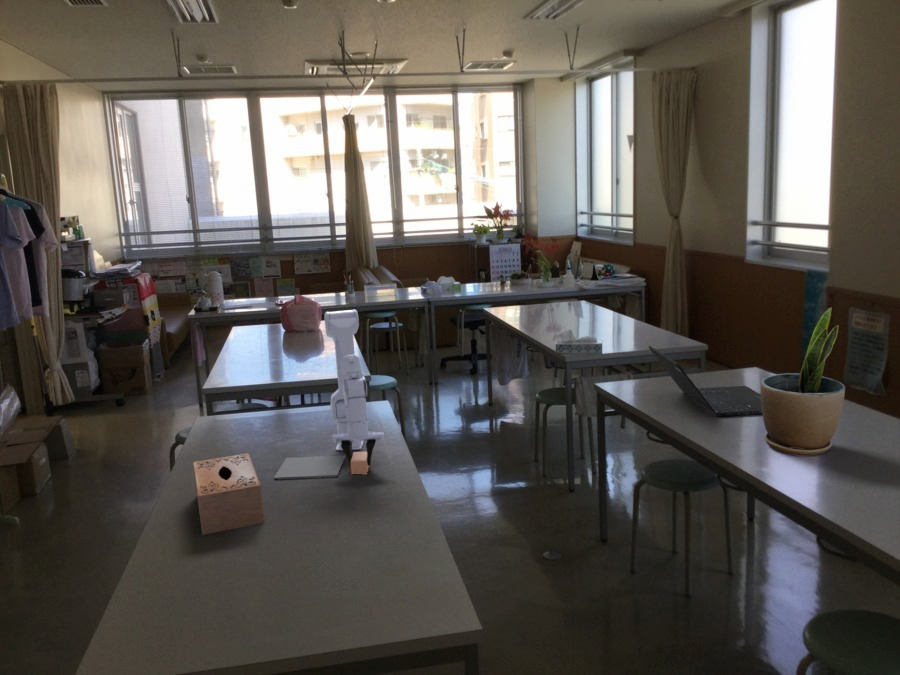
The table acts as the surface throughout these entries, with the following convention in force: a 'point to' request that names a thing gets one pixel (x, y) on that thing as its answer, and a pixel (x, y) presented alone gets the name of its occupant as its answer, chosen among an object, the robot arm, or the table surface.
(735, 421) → the table surface
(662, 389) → the table surface
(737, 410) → the laptop
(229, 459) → the tissue box cover
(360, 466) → the light orange rectangular block
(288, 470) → the mat
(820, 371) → the potted plant
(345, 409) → the robot arm
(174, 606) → the table surface
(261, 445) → the table surface
